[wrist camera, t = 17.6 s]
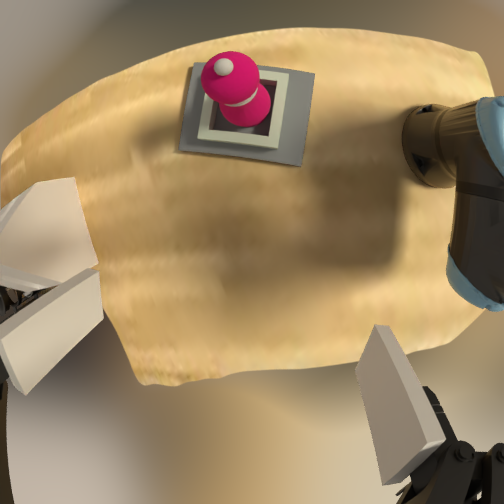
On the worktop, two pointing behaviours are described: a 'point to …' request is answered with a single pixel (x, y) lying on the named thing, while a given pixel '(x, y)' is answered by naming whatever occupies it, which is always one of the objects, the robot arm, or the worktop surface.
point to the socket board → (258, 137)
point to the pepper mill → (236, 88)
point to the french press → (2, 301)
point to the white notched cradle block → (44, 237)
